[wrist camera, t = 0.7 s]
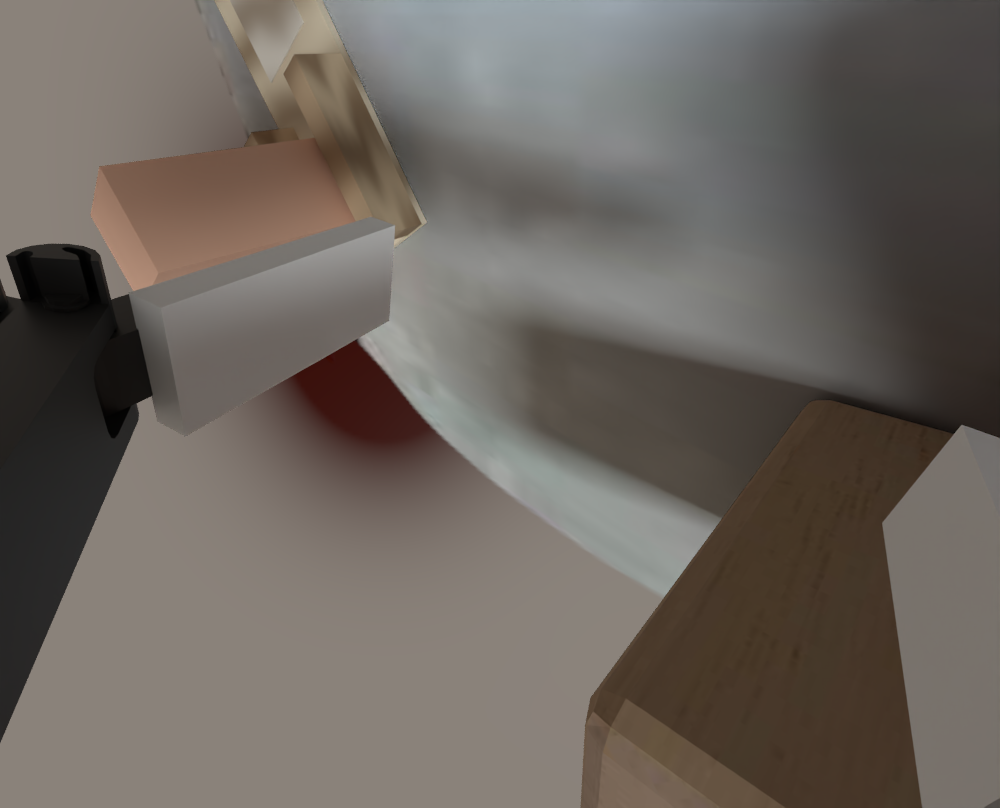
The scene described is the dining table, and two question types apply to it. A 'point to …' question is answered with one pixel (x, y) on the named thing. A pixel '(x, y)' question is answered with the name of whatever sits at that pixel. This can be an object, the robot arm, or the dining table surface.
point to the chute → (321, 104)
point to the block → (775, 641)
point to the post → (213, 207)
